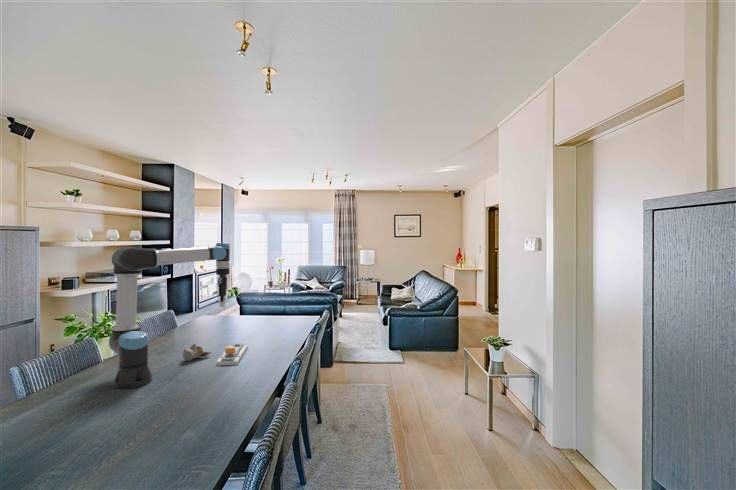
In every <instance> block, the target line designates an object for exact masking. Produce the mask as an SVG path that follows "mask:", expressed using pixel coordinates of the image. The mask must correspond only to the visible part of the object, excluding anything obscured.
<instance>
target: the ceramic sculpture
mask: <svg viewBox="0 0 736 490" xmlns="http://www.w3.org/2000/svg"><path fill="white" fill-rule="evenodd" d="M182 352H183V353H182V357H183V360H184V361H186V362H191V361H192V360H193V359H194V360H195V359H199V358H203V357H207V356H208V355H210V354H211V353H212V352H211V351H210V352H209V351H204V350H203V347H202V346H201V345H197V344H196V343H194V344H192V345H191V346H189V348H188V349H183V351H182Z"/></svg>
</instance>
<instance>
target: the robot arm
mask: <svg viewBox="0 0 736 490" xmlns="http://www.w3.org/2000/svg"><path fill="white" fill-rule="evenodd" d="M230 252H231V249H230V243H228V242H216V244H215V245H201V246H200V245H198V246H196V247H188V248H186V247H185V248H173V249H172V248H171V249H156V248H140V247H133V246H132V247H131V246H123V247H120V248H118V249H115V251H114V252H113V254H112V255H111V264H112V266H113V275H114V276H115V277H116V299H115V300H116V301H115V302H116V305H115V306H116V309H115V325H114V326H113V327H112V328H111V335H110V337H109V340H108V343H109V345H108V346H109V347H110V349H111V351H113V353H115V354H117V355H118V369H117V370H118V371H117V372H116V374H115V378H114V381H113V387H114V388H116V389H122V390H124V389H125V390H127V389H133V388H139V387H142V386H145V385H148V384H149V383H150V382H152V381H153V373H152V371H151V368H150V366H149V340H150V339H149V335H148V334H147V332H145V331H142V330H141V329H140V325H139V324H137V313H138V312H137V309H138V307H137V306H138V305H137V304H138V278H139V276H140V275H141V274H142V270H143V271H144V270H147V269H155V268H157V267H158V266H164V265H165V266H166V265H175V264H183V263H195V262H205V261H214V260H215V268H216V269H215V275H217V276H219V277H218V280H217V284H218V297H219V307H221V308H223V307H226V297H227V296H228V295H227V284H228V277H227V275H230V265H231V262H230Z"/></svg>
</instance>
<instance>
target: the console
mask: <svg viewBox="0 0 736 490" xmlns="http://www.w3.org/2000/svg"><path fill="white" fill-rule="evenodd" d="M228 347H236V352H235V353H233V355H232V357H228V354H225V351H223V353H222V354H220V357H219V358H217V360H216V366H230V365H233V366H234V365H238V364H239V363H240V361H241V360H242V358H243V356H244V355H245V353H246V352H247V349H248V348H249V347H248V344H245V345H244V343H233V344H232V345H228Z"/></svg>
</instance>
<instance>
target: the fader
mask: <svg viewBox="0 0 736 490" xmlns="http://www.w3.org/2000/svg"><path fill="white" fill-rule="evenodd" d="M224 349H225V350H224V352H225V354H228V357H232V355H233V353H235V352H236V347H229V346H226V347H225V348H224Z"/></svg>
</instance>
